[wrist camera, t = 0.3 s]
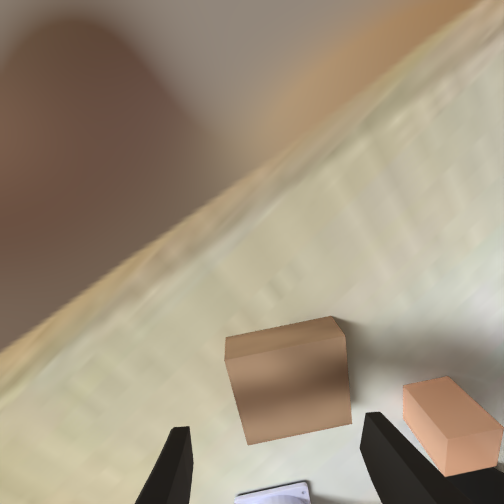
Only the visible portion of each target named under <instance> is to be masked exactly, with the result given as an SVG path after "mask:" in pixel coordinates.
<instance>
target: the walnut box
mask: <svg viewBox="0 0 504 504" xmlns="http://www.w3.org/2000/svg"><path fill="white" fill-rule="evenodd" d="M225 364H226V368H227V371H228V375H229V379H230V382H231V386H232V390H233V393H234V397H235V400H236V404H237V408H238V411H239V415H240V419H241V422H242V426H243V430H244V433H245V437H246V441H247V444H248V445H252V444H257V443H262V442H267V441H271V440H276V439H281V438H286V437H291V436H296V435H300V434H305V433H310V432H315V431H320V430H324V429H329V428H334V427H339V426H344V425H348V424H352V416H351V403H350V390H349V377H348V364H347V351H346V338H345V335H344V333H343V332H342V330H341V329H340V327H339V326H338V325H337V323H336V322H335V320H334V319H333V318H332V316H328V317H323V318H318V319H314V320H309V321H304V322H299V323H294V324H289V325H284V326H279V327H275V328H270V329H265V330H260V331H255V332H250V333H245V334H241V335H236V336H231V337H226V343H225Z"/></svg>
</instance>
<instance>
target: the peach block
mask: <svg viewBox="0 0 504 504" xmlns="http://www.w3.org/2000/svg"><path fill="white" fill-rule="evenodd" d="M403 419H404V421H405V422H406V423H407V425H408V426H409V428H410V429H411V431H412V432H413V433H414V435H415V436H416V438H417V439H418V440H419V442H420V443H421V445H422V446H423V448H424V449H425V450H426V452H427V453H428V455H429V456H430V457H431V459H432V460H433V462H434V463H435V465H436V466H437V467H438V469H439V470H440V472H441V473H442V474H443V475H444V476H445V477H447V476H452V475H457V474H461V473H466V472H470V471H475V470H480V469H484V468H489V467H494V466H497V461H498V456H499V451H500V445H501V440H502V435H503V430H504V427H503V426H502V425H501V424H499V423H498V422H497V421H496V420H495V419H494V418H493V417H492V416H491V415H490V414H489V413H488V412H486V411H485V410H484V409H483V408H482V407H481V406H480V405H479V404H478V403H477V402H476V401H474V400H473V399H472V398H471V397H470V396H469V395H468V394H467V393H466V392H465V391H464V390H463V389H461V388H460V387H459V386H458V385H457V384H456V383H455V382H454V381H453V380H452V379H451V378H449V377H448V376H445V377H441V378H436V379H431V380H427V381H422V382H417V383H412V384H408V385H403Z"/></svg>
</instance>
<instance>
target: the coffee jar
mask: <svg viewBox="0 0 504 504" xmlns="http://www.w3.org/2000/svg"><path fill="white" fill-rule="evenodd" d="M446 478H447V479H448V480H449V481H450V482H451V483H452V484H453V485H454V486H455V487H456V488H457V489H459V490H460V491H461V492H462V493H463V494H464V495H465V496H466V497H467V498H468V499H469V500H471V501H472V502H473V503H474V504H504V473H503V472H501V471H498V470H496V469H495V468H493V467H489V468H484V469H480V470H475V471H470V472H466V473H461V474H457V475H452V476H447V477H446Z"/></svg>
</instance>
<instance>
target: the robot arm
mask: <svg viewBox="0 0 504 504" xmlns="http://www.w3.org/2000/svg"><path fill="white" fill-rule="evenodd" d="M360 451H361V453H362V456H363V459H364V462H365V465H366V467H367V470H368V472H369V475H370V478H371V480H372V483H373V485H374V487H375V489H376V491H377V493H378V495H379V498H380V500H381V502H382V504H474V503H473V502H472V501H471V500H469V499H468V498H467V497H466V496H465V495H464V494H463V493H462V492H461V491H460V490H459V489H457V488H456V487H455V486H454V485H453V484H452V483H451V482H450V481H449V480H448V479H447V478H446V477H445V476H444V475H443V474H442V473H441V472H440V471H439V470H438V469H437V468H436V467H435V466H433V465H432V464H431V463H430V462H429V461H428V460H427V459H426V458H425V457H424V456H423V455H422V454H421V453H420V452H419V451H418V450H417V449H416V448H415V447H414V446H413V445H412V444H411V443H410V442H409V441H408V440H407V439H406V438H405V437H404V436H403V435H402V434H401V433H400V431H399V430H398V429H397V428H396V427H395V426H394V425H393V424H392V423H391V422H390V421H389V420H388V419H387V418H386V417H385V416H384V415H383V414H382V413H381V412H369V413H366V415H365V420H364V426H363V432H362V438H361V444H360ZM193 463H194V462H193V453H192V445H191V436H190V427H189V426H186V427H174V428H173V429H171V431H170V434H169V436H168V438H167V441H166V443H165V445H164V447H163V449H162V451H161V454H160V456H159V458H158V460H157V462H156V464H155V466H154V468H153V470H152V472H151V474H150V476H149V478H148V479H147V481H146V483H145V485H144V487H143V489H142V491H141V493H140V495H139V496H138V498H137V500H136V502H135V504H189V500H190V491H191V483H192V473H193ZM234 504H311V502H310V496H309V491H308V486H307V483H305V482H301V483H296V484H291V485H287V486H282V487H278V488H273V489H268V490H264V491H259V492H254V493H250V494H245V495H241V496H237V497H235V499H234Z"/></svg>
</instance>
